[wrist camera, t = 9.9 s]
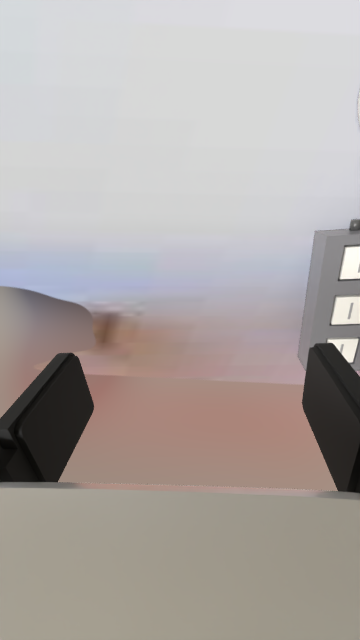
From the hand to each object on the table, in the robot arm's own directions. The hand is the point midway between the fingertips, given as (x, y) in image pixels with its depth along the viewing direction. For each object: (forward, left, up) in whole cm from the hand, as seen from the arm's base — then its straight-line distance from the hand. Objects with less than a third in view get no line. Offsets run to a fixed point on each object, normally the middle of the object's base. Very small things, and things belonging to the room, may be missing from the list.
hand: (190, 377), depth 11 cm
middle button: (-14, +17, -28) cm, 36 cm away
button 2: (-16, +11, -28) cm, 35 cm away
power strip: (-14, +17, -30) cm, 37 cm away
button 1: (-11, +23, -28) cm, 38 cm away
